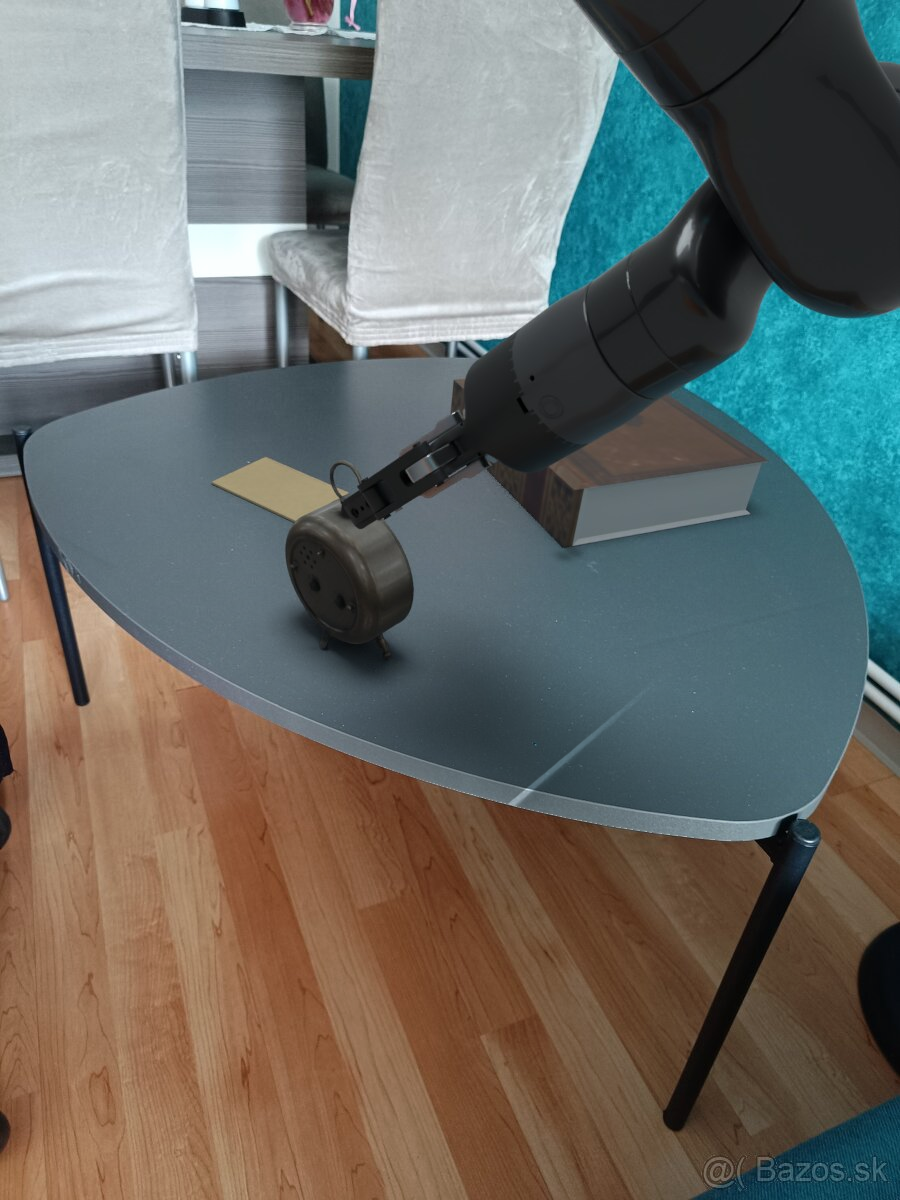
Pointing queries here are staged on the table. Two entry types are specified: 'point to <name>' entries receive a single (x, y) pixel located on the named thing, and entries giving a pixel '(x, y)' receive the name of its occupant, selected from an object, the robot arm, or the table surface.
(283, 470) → the mat
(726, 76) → the robot arm
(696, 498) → the book
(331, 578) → the alarm clock
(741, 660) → the table surface
